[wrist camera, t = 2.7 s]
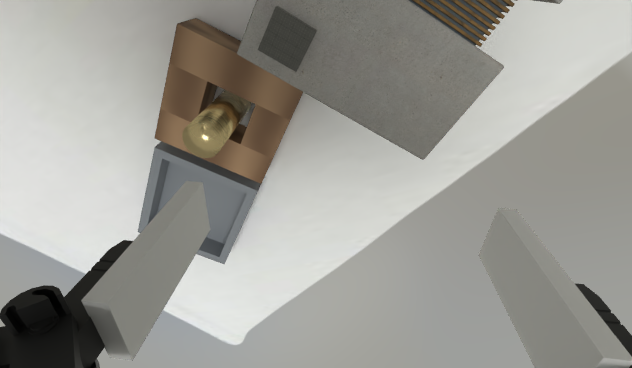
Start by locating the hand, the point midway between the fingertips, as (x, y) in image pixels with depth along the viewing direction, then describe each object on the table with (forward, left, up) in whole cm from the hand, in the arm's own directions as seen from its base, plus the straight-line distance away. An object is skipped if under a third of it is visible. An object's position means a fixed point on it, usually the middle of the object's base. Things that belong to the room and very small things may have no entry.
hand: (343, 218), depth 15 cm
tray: (-10, -21, -22) cm, 32 cm away
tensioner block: (-10, -7, -22) cm, 25 cm away
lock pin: (-10, -7, -22) cm, 25 cm away
